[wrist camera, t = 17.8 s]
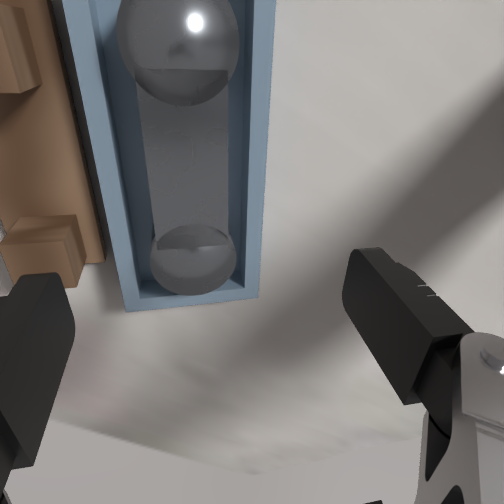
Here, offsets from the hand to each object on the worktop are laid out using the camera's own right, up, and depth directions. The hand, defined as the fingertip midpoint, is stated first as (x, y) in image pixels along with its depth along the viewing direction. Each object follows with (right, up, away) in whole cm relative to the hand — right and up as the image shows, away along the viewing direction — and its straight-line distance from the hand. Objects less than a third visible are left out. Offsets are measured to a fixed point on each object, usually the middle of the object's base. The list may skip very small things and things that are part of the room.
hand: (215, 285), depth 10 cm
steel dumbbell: (-3, +7, +10) cm, 13 cm away
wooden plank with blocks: (-11, +6, +9) cm, 16 cm away
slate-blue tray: (-3, +7, +11) cm, 13 cm away
